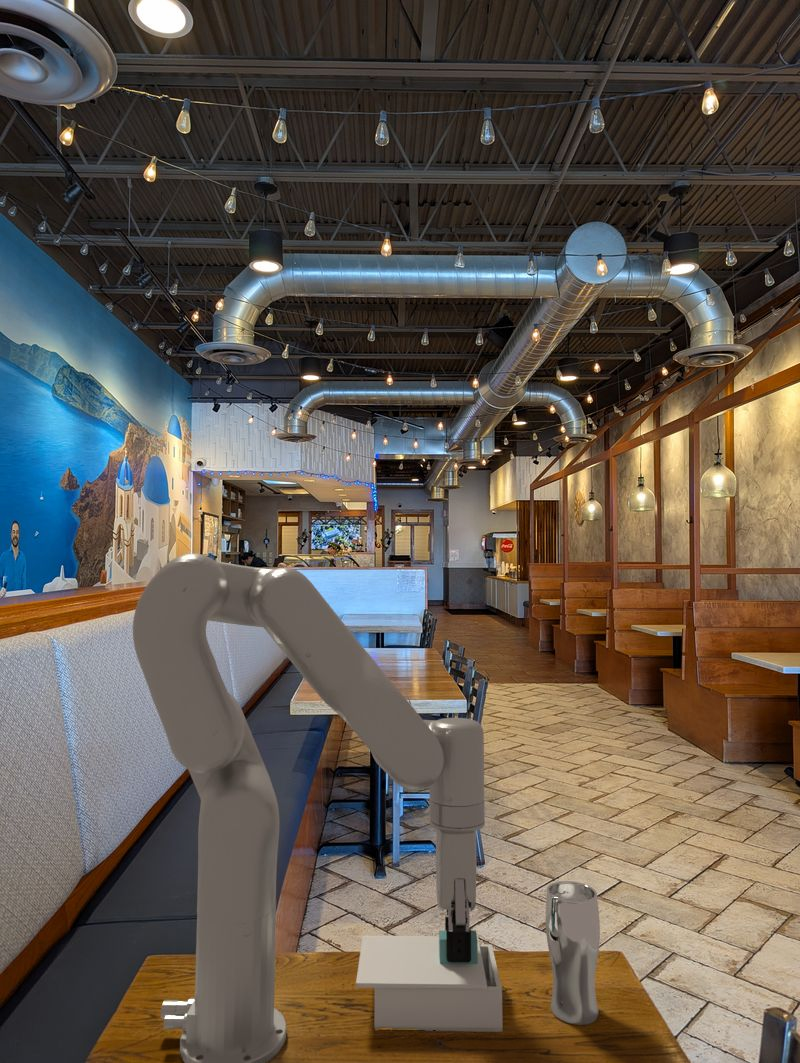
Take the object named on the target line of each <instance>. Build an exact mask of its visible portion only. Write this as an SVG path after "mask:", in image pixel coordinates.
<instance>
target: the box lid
mask: <svg viewBox="0 0 800 1063" xmlns="http://www.w3.org/2000/svg"><path fill="white" fill-rule="evenodd" d="M479 944H480V941H479V937H478V936H477V931H476V930H471V961H470V962H448V961H447V947H446V931H445V930H439V931H438V935H371V934H370V935H368V934H367V935H365V934H364V935H362V940H361V944H360V946H361V947H360V952H359V960H358V966H357V967H358V968H357V975H356V981H355V988H361V989H363V988H365V989H366V988H367V989H369V988H374V989H375V988H449V989H487V982H486V977H485V971H484V966H483V961H482V956H481V951H480V945H479Z"/></svg>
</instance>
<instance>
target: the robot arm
mask: <svg viewBox="0 0 800 1063" xmlns="http://www.w3.org/2000/svg"><path fill="white" fill-rule="evenodd" d="M208 621H209V622H215V623H216V622H217V623H218V622H219V623H224V624H231V625H238V626H248V627H255V628H257V627H259V628H263V629H264V630H265V631H266V632H267V634H268V635H269V636H270V637H271V638H272V640H273V641H274V642H275V644H276V646H278V648H280V649H281V651H282V653H284V655H285V656H286V657H287V659H289V661H290V662H291V663H292V665H293V666H294V667H295V668H296V670H297V672H299V673H300V674H301V676H302V677H303V678H304V679H305V681H306V683H308V685H309V686H310V687H311V688H312V689H313V690H314V692H315V693H316V694H317V695H318V696H319V698H320V699H321V700H322V701H323V702H324V704H326V705H327V706H328V707H330V708H331V709H332V710H333V711H334V712H335V713H336V714H337V715H338V716H340V718H341V719H342V720H343V721H344V722H346V724H347V725H348V727H350V728H351V730H353V732H354V733H355V734H356V736H358V738H359V739H360V740H361V742H362V743H363V744H364V745H365V747H367V749H368V750H369V751H370V753H371V754H372V755H371V756H372V758H373V759H374V761H375V763H376V765H378V766H379V767H380V768H381V770H383V772H384V773H386V774H387V775H388V777H390V779H391V780H392V781H393V782H394V783H395V784H396V785H398V786H399V787H400V788H402V789H406V790H410V791H420V790H424V789H427V788H429V799H428V800H429V825H430V826H431V827H432V828H434V829H436V836H435V837H436V838H435V840H436V842H435V856H436V857H435V864H436V866H435V869H436V870H435V874H436V876H435V886H436V902H437V903H436V904H437V908H438V909H439V910H440V911H441V912H444V910H446V916H445V917H444V918H445V919H444V920H445V923H444V924H445V925H444V926H445V928H444V931H446V947H447V961H448V962H470V961H471V931H472V929H471V928H470V926H471V925H470V912H472V911H474V910H475V908H476V899H477V865H478V864H477V832H478V831H479V830H481V829H484V827H485V825H486V822H485V821H486V819H485V818H486V814H485V811H486V808H485V807H486V806H485V803H486V802H485V743H484V742H485V739H484V737H485V735H484V728H483V726H482V725H481V723H480V722H478V721H477V720H474V719H471V718H465V717H446V718H439V719H437V720H432V719H431V720H430V719H423V718H422V716H420V715H419V713H418V711H416V709H415V708H414V707H413V706H412V704H411V703H410V702H409V701H408V700H407V698H406V697H405V696H404V695H403V694H402V692H401V691H400V690H399V689H398V687H397V686H395V684H394V683H393V682H392V681H391V680H390V678H389V677H388V676H387V675H386V674H385V673H384V671H383V670H382V669H381V668H380V666H379V665H378V664H377V662H376V661H375V659H374V658H373V657H372V656H371V654H369V652H368V651H367V650H366V649H365V648H364V646H363V645H362V644H361V643H360V642H359V640H357V638H356V637H355V636H354V634H353V633H352V632H351V630H350V629H349V628H348V627H347V626H346V624H345V623H344V622H343V621H342V620H341V618H340V617H339V616H338V614H337V613H336V612H335V611H334V609H333V608H332V607H331V605H330V604H329V603H328V602H327V600H326V599H325V597H323V595H322V594H321V593H320V592H319V591H318V589H317V588H316V586H315V585H314V584H313V583H312V582H311V581H310V580H309V578H308V577H306V576H305V574H303V573H302V572H300V571H299V570H296V569H294V568H289V567H278V568H274V569H273V568H272V569H271V568H263V567H255V566H247V565H241V564H234V563H229V562H223V561H217V560H214V559H213V558H211V557H210V556H207V555H204V554H201V553H186V554H182V555H179V556H177V557H175V558H173V559H171V560H170V561H168V562H167V563H166V564H165V565H164V566H162V567H161V568H160V570H158V571H157V572H156V574H154V576H153V577H152V578H151V579H150V581H148V583H147V584H146V586H145V588H144V590H143V591H142V593H141V594H140V597H139V599H138V602H137V604H136V607H135V611H134V615H133V620H132V639H133V647H134V650H135V654H136V658H137V661H138V663H139V666H140V668H141V670H142V673H143V677H144V678H145V682H146V684H147V687H148V690H149V693H150V696H151V699H152V702H153V704H154V706H155V709H156V712H157V713H158V716H159V719H160V721H161V724H162V726H163V729H164V732H165V734H166V738H167V741H168V744H169V745H168V746H169V748H170V750H171V752H172V754H173V756H174V759H176V760H177V762H178V763H179V764H180V765H181V766H183V767H184V768H186V769H187V770H188V772H189V775H190V777H191V779H192V782H193V784H194V786H195V788H196V791H197V793H198V796H199V798H200V805H199V807H200V808H199V817H198V835H197V836H198V837H197V839H198V840H197V842H198V843H197V846H198V847H197V848H198V849H197V856H198V857H197V858H198V859H197V896H196V898H197V900H196V901H197V902H196V914H197V915H196V916H197V918H196V944H195V945H196V947H195V948H196V949H195V955H196V956H195V983H194V984H195V985H194V997H189V998H188V1000H179V999H164V1000H163V1002H162V1005H161V1008H160V1019H163V1029H164V1030H175V1029H182V1032H181V1035H180V1039H179V1053H180V1057H181V1059H182V1061H183V1062H184V1063H267V1062H269V1061H270V1060H272V1059H273V1058H274V1057H275V1056H276V1055H277V1054H278V1053H279V1052H280V1050H281V1049H282V1048H283V1046H284V1045H285V1041H286V1039H287V1021H286V1019H285V1017H284V1015H283V1014H282V1012H281V1011H279V1010H278V1009H277V1008H275V981H276V980H275V979H276V978H275V977H276V976H275V975H276V973H275V972H276V971H275V970H276V929H277V926H276V923H277V922H276V921H277V919H276V918H277V917H276V916H277V913H276V912H277V871H278V870H277V865H278V852H279V838H280V811H279V810H280V809H279V805H278V804H279V803H278V799H277V796H276V793H275V790H274V787H273V783H272V780H271V777H270V775H269V772H268V769H267V768H266V765H265V762H264V760H263V758H262V755H261V753H260V750H259V748H258V746H257V744H256V741H255V738H254V737H253V734H252V731H251V729H250V727H249V724H248V722H247V718H246V717H245V715H244V711H243V709H242V707H241V705H240V704H239V702H238V700H237V699H236V697H234V696H233V695H232V693H231V692H228V689H227V687H226V685H225V682H224V679H223V677H222V676H221V672H220V671H219V667H218V665H217V661H216V658H215V656H214V655H213V652H212V648H211V647H210V645H209V642H208V638H207V624H208Z"/></svg>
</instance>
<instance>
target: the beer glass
mask: <svg viewBox="0 0 800 1063" xmlns="http://www.w3.org/2000/svg"><path fill="white" fill-rule="evenodd" d="M545 900H546V901H545V933H546V941H547V946H548V953H549V958H550V963H551V970H552V982H553V983H552V994H551V1000H550V1010H551V1012H552V1014H553V1015H554V1016H555V1017H556V1019H559V1020H560V1021H562V1022H564V1023H567V1024H570V1025H575V1026H586V1025H590V1024H592V1023H594V1022H595V1021H596V1020H598V1018H599V1007H598V1006H599V1005H598V1000H597V997H596V987H595V984H596V982H595V980H596V971H597V965H598V958H599V952H600V951H599V950H600V940H601V939H600V935H601V930H600V929H601V926H600V912H599V901H598V892H597V891H596V890H595V889H594V887H592V886H590V885H587V884H585V883H582V882H577V881H570V880H562V881H555V882H552V883H551V884H549V885H547V887H546V898H545Z"/></svg>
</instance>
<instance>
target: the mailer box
mask: <svg viewBox="0 0 800 1063" xmlns="http://www.w3.org/2000/svg"><path fill="white" fill-rule="evenodd" d="M479 945H480V951H481V956H482V961H483V966H484V971H485V977H486V982H487V989H449V988H374V1020H373V1021H374V1028H376V1029H377V1028H392V1029H417V1030H425V1031H424V1032H434V1031H433V1030H436V1031H435V1032H472V1033H473V1032H479V1033H483V1032H485V1033H486V1032H487V1033H489V1032H490V1033H491V1032H492V1033H494V1032H495V1033H503V1032H504V1030H503V988H502V982H501V979H500V975H499V970H498V966H497V962H496V956H495V953H494V949H493V944H492V943H491V944H490V943H489V944H485V943H484V944H481V943H479Z"/></svg>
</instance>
